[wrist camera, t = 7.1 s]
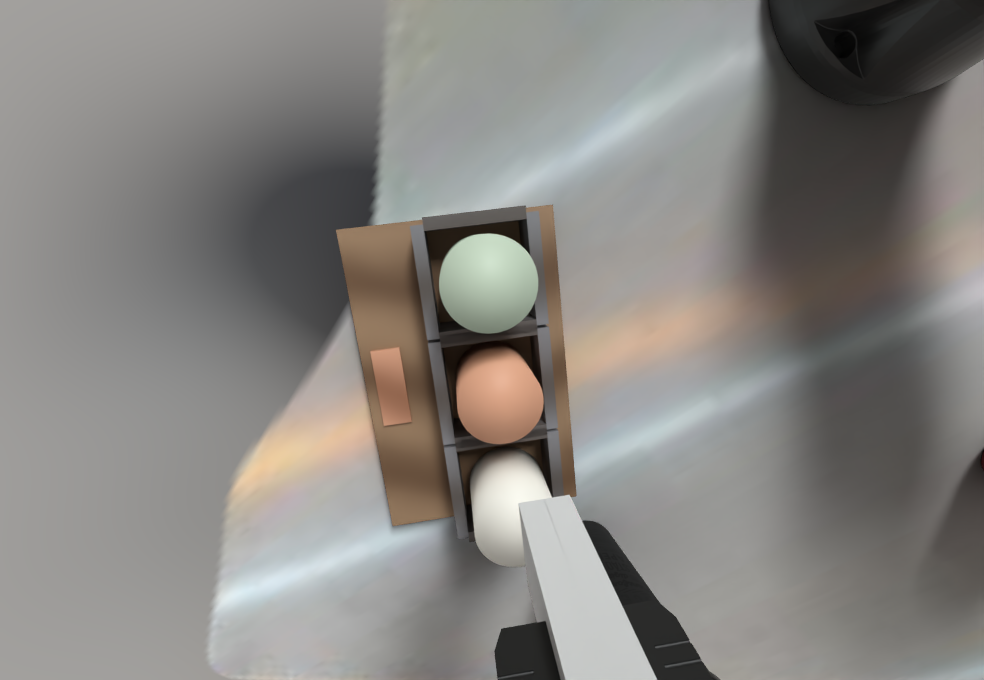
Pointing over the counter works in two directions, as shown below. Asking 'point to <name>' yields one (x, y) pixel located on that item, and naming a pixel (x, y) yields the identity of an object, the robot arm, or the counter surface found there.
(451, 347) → the wooden compartment tray
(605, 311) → the counter surface
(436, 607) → the counter surface
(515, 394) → the button terracotta
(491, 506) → the button ivory
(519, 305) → the pale green rounded cylinder
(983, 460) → the mug
